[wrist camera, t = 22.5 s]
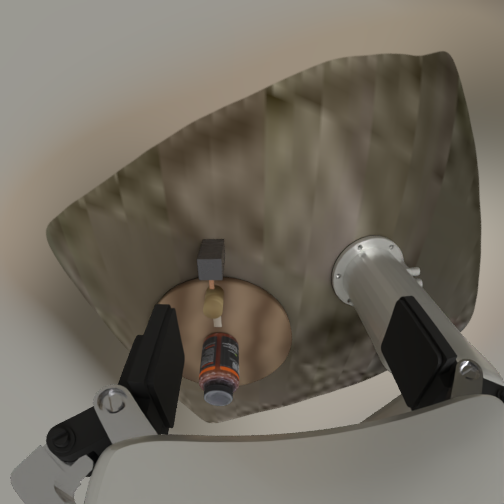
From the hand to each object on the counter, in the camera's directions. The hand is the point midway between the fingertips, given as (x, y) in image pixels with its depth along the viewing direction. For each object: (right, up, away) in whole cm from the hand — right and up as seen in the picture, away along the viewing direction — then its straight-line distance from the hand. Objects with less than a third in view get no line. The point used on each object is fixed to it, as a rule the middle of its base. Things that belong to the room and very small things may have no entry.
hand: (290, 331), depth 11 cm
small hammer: (-7, +4, +30) cm, 31 cm away
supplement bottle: (-7, -12, +34) cm, 37 cm away
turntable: (-7, -11, +37) cm, 39 cm away
